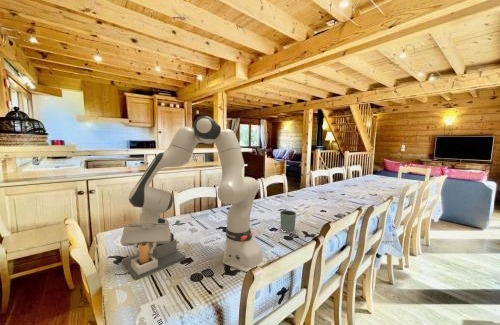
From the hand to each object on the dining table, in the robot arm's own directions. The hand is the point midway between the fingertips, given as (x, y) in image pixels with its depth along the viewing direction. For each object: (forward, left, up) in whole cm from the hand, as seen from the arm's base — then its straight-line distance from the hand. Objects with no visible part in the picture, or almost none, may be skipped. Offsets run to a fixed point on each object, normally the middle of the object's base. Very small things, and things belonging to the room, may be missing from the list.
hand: (143, 254), depth 91 cm
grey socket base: (+5, -6, -7) cm, 11 cm away
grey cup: (-19, -82, -8) cm, 85 cm away
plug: (+1, 0, -5) cm, 5 cm away
